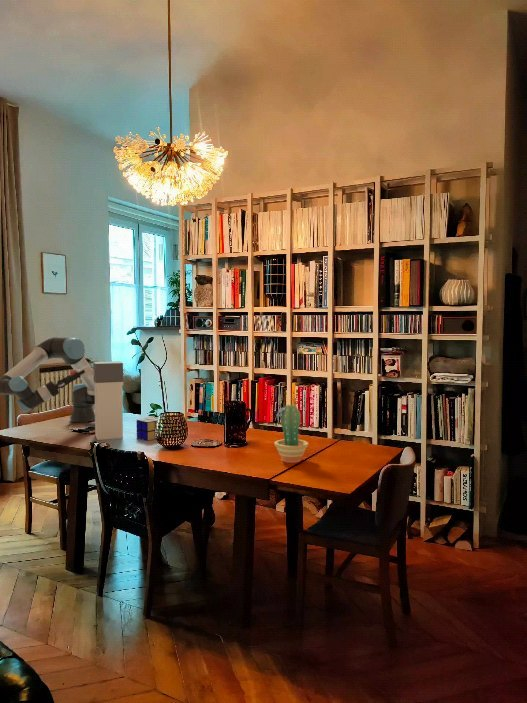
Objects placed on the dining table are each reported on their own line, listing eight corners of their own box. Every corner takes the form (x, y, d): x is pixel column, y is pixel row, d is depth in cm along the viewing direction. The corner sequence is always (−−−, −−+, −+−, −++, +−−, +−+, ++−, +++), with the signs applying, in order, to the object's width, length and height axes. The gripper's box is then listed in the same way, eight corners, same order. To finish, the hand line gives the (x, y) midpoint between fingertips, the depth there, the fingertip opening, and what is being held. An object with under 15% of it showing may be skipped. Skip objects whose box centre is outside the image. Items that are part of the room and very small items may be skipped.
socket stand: (96, 440, 280) (95, 363, 278) (94, 434, 293) (93, 361, 291) (124, 438, 285) (123, 363, 283) (120, 433, 298) (119, 361, 296)
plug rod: (70, 376, 279) (70, 370, 278) (70, 375, 281) (70, 369, 281) (120, 374, 288) (119, 368, 288) (119, 373, 291) (119, 368, 291)
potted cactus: (285, 454, 254) (286, 401, 253) (314, 459, 245) (315, 404, 244) (267, 461, 242) (267, 405, 240) (296, 466, 233) (297, 409, 231)
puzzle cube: (136, 438, 286) (136, 419, 285) (152, 435, 293) (151, 417, 293) (147, 441, 279) (147, 422, 279) (163, 438, 286) (162, 419, 286)
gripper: (52, 395, 285) (92, 371, 292) (53, 399, 270) (95, 374, 277) (44, 383, 283) (85, 359, 290) (44, 386, 268) (87, 362, 275)
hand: (89, 367), depth 283 cm, fingers closed on plug rod, 3 cm apart
